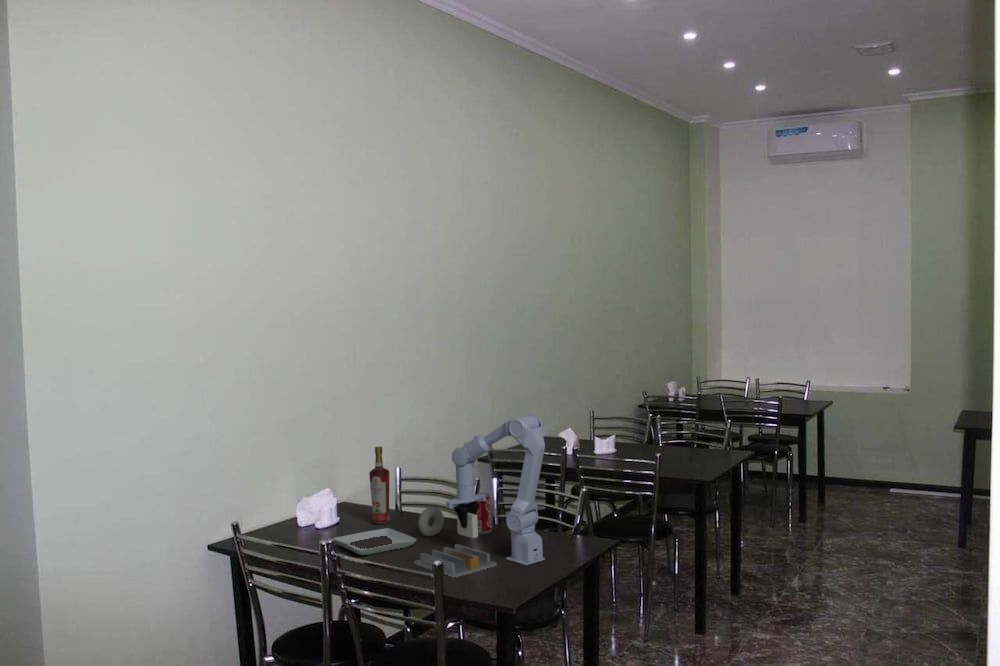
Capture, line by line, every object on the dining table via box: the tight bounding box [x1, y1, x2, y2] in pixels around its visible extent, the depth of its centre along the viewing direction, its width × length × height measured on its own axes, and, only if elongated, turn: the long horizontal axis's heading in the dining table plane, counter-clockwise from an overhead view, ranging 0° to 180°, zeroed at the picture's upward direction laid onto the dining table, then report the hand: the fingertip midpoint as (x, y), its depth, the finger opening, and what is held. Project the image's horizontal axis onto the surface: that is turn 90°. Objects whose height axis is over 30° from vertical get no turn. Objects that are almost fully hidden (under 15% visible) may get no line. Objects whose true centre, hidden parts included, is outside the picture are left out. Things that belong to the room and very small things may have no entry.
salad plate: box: [332, 527, 417, 556], centre depth 281 cm, size 21×21×3 cm
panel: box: [456, 513, 479, 539], centre depth 272 cm, size 8×2×7 cm, turn 40°
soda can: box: [475, 492, 493, 535], centre depth 295 cm, size 7×7×13 cm
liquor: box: [369, 446, 391, 522], centre depth 313 cm, size 7×7×28 cm
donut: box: [417, 506, 445, 537], centre depth 292 cm, size 10×4×10 cm, turn 129°
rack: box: [413, 543, 497, 579], centre depth 257 cm, size 20×16×4 cm
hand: (467, 526), depth 272 cm, fingers closed on panel, 2 cm apart
